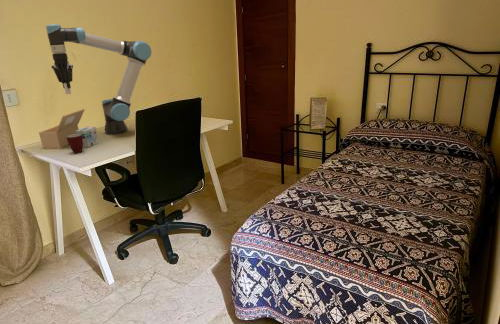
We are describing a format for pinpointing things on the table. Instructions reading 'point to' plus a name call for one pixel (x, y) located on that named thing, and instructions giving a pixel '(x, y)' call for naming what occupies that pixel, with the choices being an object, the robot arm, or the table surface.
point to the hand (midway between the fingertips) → (68, 93)
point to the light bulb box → (88, 136)
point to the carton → (56, 137)
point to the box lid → (70, 120)
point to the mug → (75, 142)
